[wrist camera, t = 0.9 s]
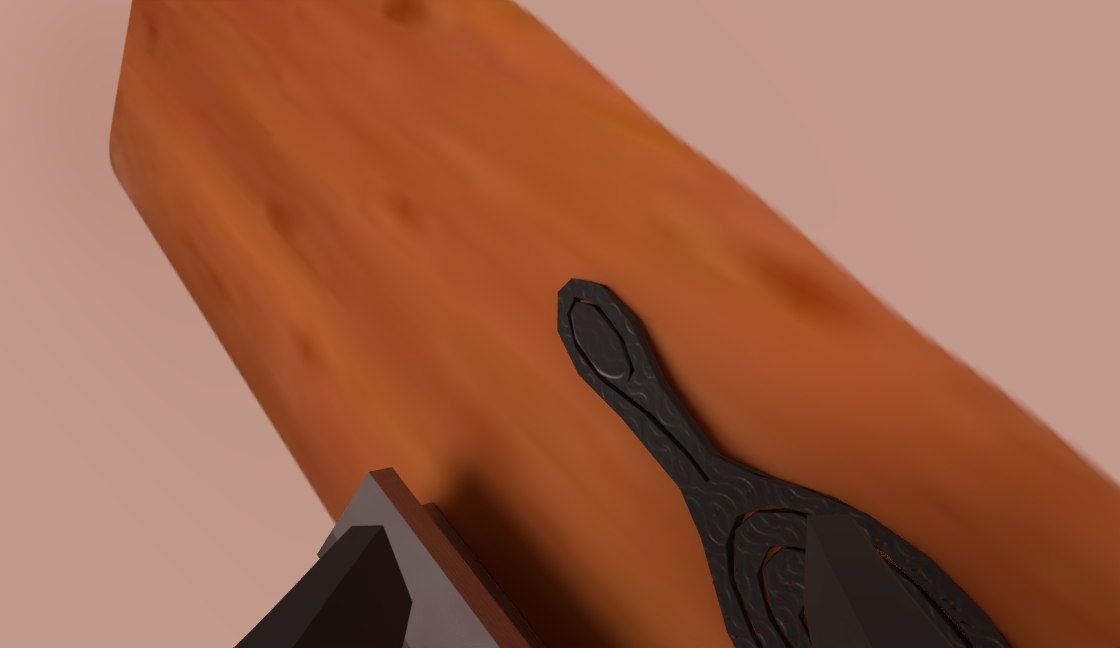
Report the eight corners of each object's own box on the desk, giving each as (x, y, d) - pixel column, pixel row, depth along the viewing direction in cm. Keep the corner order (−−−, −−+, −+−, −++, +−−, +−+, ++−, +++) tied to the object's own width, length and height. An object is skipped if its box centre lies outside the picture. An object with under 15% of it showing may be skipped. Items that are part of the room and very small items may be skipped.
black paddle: (602, 207, 26) (1198, 893, 15) (642, 225, 29) (1162, 807, 18) (480, 344, 29) (906, 997, 18) (529, 347, 32) (917, 908, 21)
